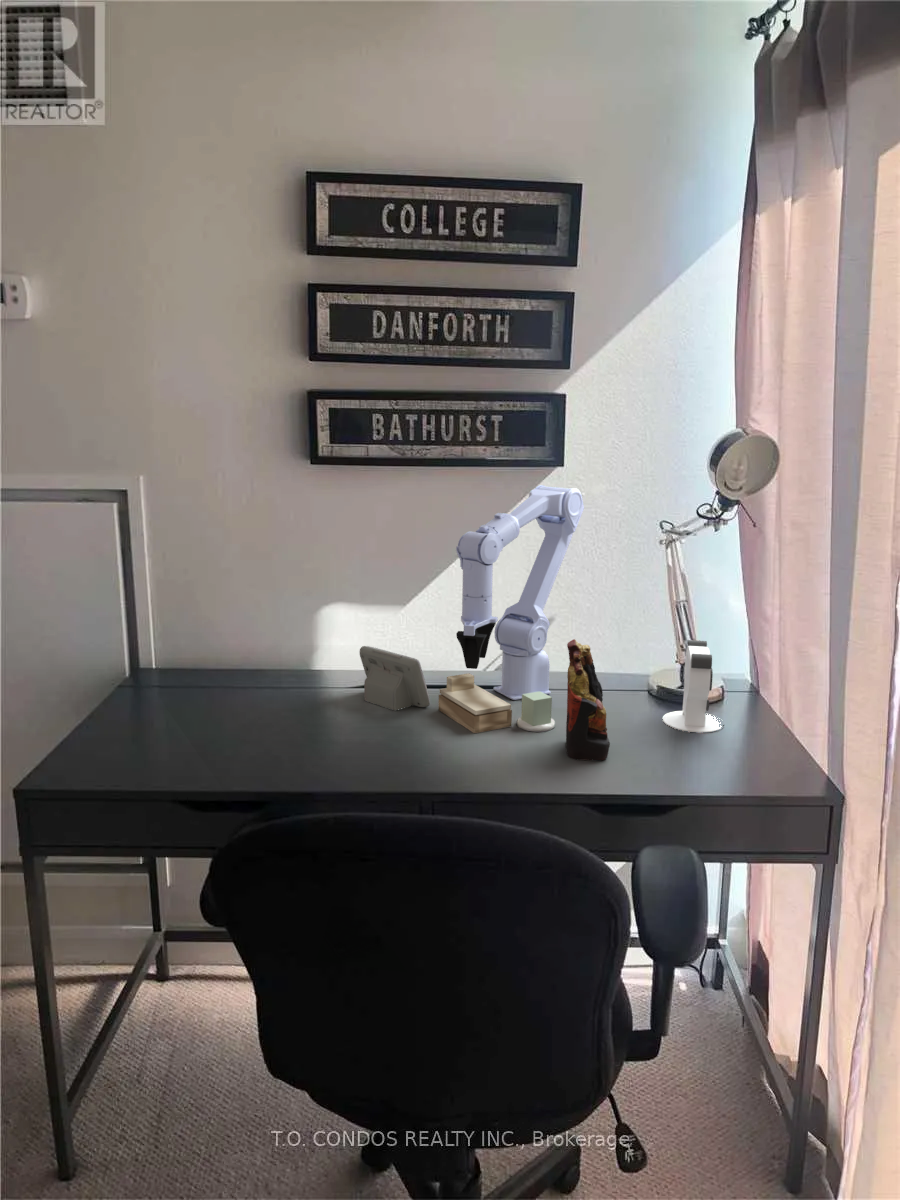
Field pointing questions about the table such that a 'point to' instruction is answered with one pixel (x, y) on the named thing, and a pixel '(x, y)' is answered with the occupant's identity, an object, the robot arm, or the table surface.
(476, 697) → the lid
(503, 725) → the pencil box
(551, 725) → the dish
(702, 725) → the white post on disc
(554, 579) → the robot arm
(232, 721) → the table surface
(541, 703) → the green block
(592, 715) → the statue
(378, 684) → the digital clock
